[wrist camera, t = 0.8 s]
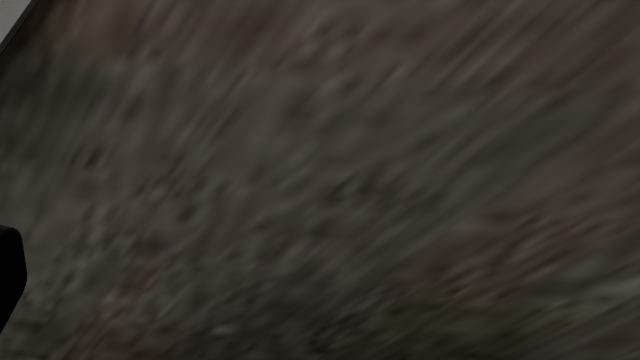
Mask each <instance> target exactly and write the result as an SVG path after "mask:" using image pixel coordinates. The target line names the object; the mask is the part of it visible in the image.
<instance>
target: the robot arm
mask: <svg viewBox="0 0 640 360" xmlns="http://www.w3.org/2000/svg"><path fill="white" fill-rule="evenodd" d="M26 282H27V269H26V262H25V256H24V249H23V242H22V237H21V234H20V233H19V231H18V230H17V229H15V228H12V227H7V226H3V225H0V334H1V332H2V330H3V328H4V326H5V325H6V323H7V321H8V319H9V317H10V315H11V314H12V312H13V310H14V308H15V306H16V304H17V303H18V301H19V299H20V297H21V295H22V293H23V291H24V289H25V286H26Z"/></svg>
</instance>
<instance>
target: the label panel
mask: <svg viewBox="0 0 640 360" xmlns="http://www.w3.org/2000/svg"><path fill="white" fill-rule="evenodd" d="M38 1H39V0H0V54H1V53H2V51H3V50H4V48H5V47H6V46H7V44H8V43H9V41H10V40H11V39H12V37H13V36H14V34H15V33H16V32H17V30H18V29H19V27H20V26H21V25H22V23H23V22H24V20H25V19H26V18H27V16H28V15H29V13H30V12H31V11H32V9H33V8H34V7H35V5H36V4H37V2H38Z"/></svg>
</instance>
